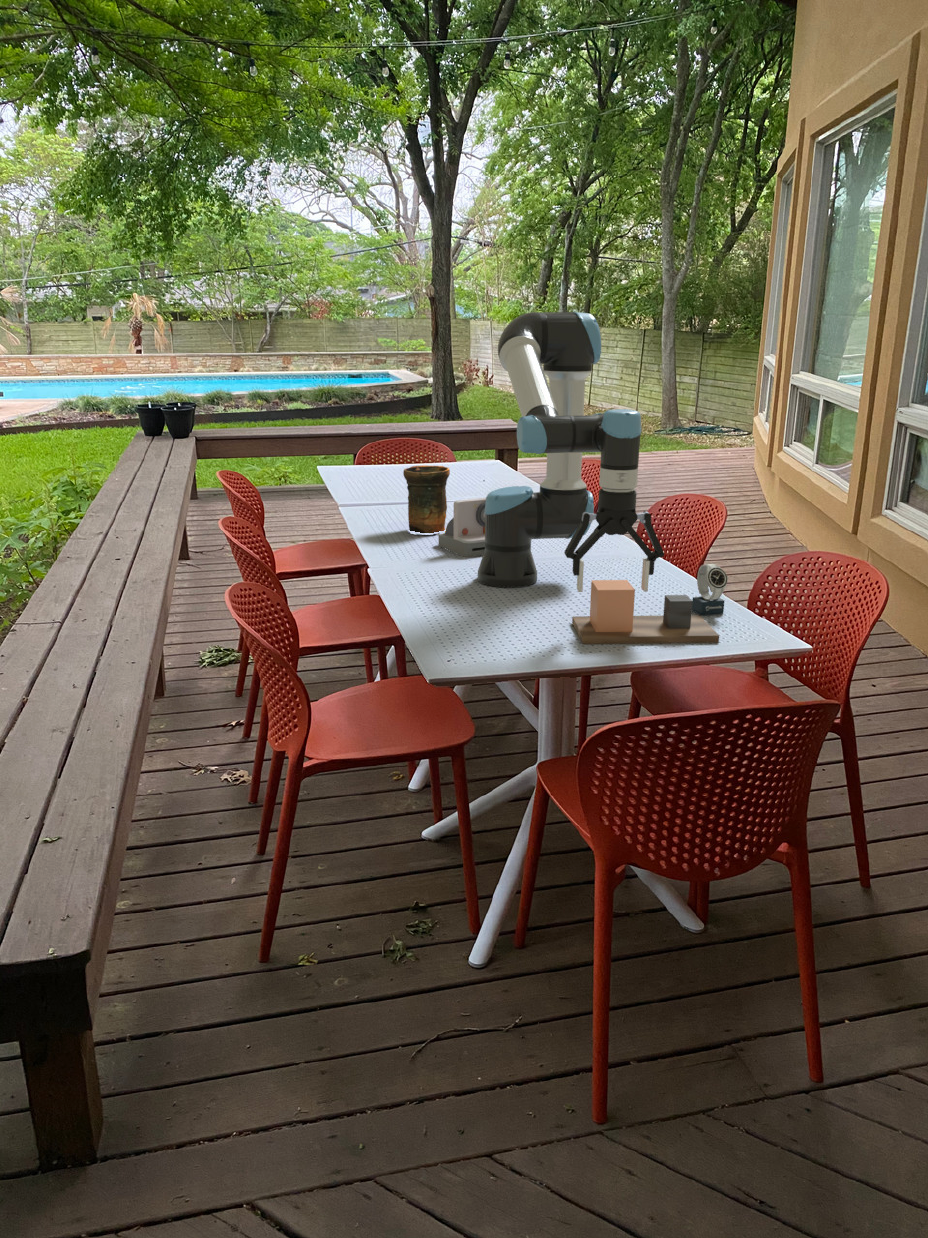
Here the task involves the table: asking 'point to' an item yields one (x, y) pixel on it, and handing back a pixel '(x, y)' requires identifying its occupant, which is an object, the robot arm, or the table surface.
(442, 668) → the table surface
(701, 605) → the watch
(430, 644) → the table surface
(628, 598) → the peach cube
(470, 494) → the table surface
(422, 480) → the vessel
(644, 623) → the post board
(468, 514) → the instant camera
